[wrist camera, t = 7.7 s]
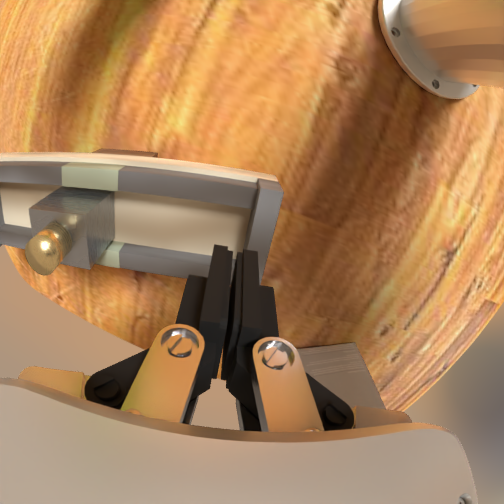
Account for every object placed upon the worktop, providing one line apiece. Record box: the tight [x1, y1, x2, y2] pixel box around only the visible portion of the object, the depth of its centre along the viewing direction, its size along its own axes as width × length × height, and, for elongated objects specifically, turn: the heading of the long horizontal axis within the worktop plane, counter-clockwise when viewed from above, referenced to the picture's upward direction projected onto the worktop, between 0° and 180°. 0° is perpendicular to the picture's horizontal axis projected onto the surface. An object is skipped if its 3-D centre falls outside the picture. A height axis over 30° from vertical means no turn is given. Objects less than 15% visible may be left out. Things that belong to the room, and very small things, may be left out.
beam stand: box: [0, 149, 284, 285], centre depth 17 cm, size 7×22×8 cm, turn 79°
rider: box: [25, 186, 115, 275], centre depth 13 cm, size 3×4×6 cm
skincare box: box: [297, 342, 386, 409], centre depth 26 cm, size 8×7×16 cm
